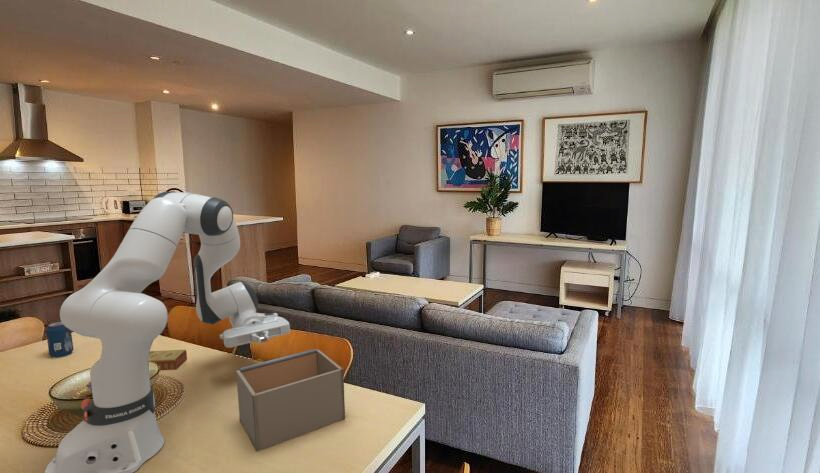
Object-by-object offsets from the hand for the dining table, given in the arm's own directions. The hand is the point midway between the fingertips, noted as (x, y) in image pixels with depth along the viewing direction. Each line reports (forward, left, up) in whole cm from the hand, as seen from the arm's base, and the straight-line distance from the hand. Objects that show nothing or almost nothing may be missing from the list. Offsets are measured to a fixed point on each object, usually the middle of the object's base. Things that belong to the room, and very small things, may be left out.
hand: (264, 340), depth 130 cm
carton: (-26, +37, -15) cm, 48 cm away
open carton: (0, -23, -15) cm, 27 cm away
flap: (0, -16, -14) cm, 21 cm away
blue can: (-54, +69, -15) cm, 89 cm away
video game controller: (-41, +22, -15) cm, 49 cm away
